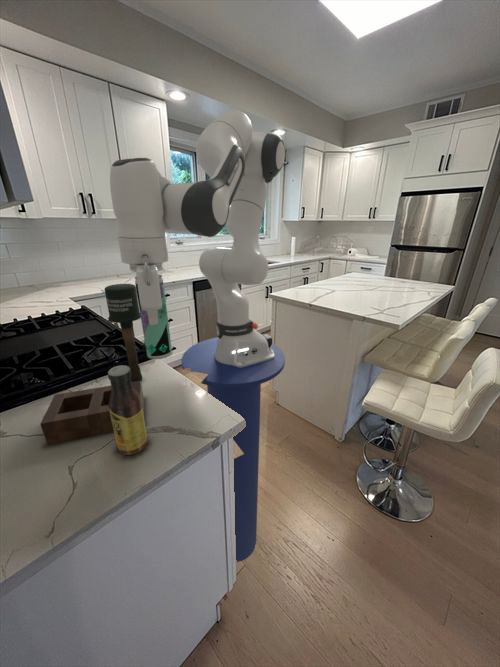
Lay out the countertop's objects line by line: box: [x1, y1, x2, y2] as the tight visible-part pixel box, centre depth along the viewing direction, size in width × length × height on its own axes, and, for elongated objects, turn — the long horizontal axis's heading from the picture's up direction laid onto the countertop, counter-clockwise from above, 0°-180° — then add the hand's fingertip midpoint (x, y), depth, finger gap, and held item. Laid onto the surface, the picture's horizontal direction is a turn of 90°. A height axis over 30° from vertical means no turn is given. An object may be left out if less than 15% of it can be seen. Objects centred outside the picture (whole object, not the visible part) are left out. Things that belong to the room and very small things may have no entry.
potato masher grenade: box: [103, 283, 143, 382], centre depth 81 cm, size 8×9×30 cm
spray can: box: [134, 273, 173, 360], centre depth 60 cm, size 6×6×20 cm
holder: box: [40, 381, 145, 446], centre depth 69 cm, size 20×11×6 cm, turn 110°
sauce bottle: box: [107, 364, 148, 456], centre depth 58 cm, size 7×6×20 cm
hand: (153, 318), depth 60 cm, fingers closed on spray can, 5 cm apart
